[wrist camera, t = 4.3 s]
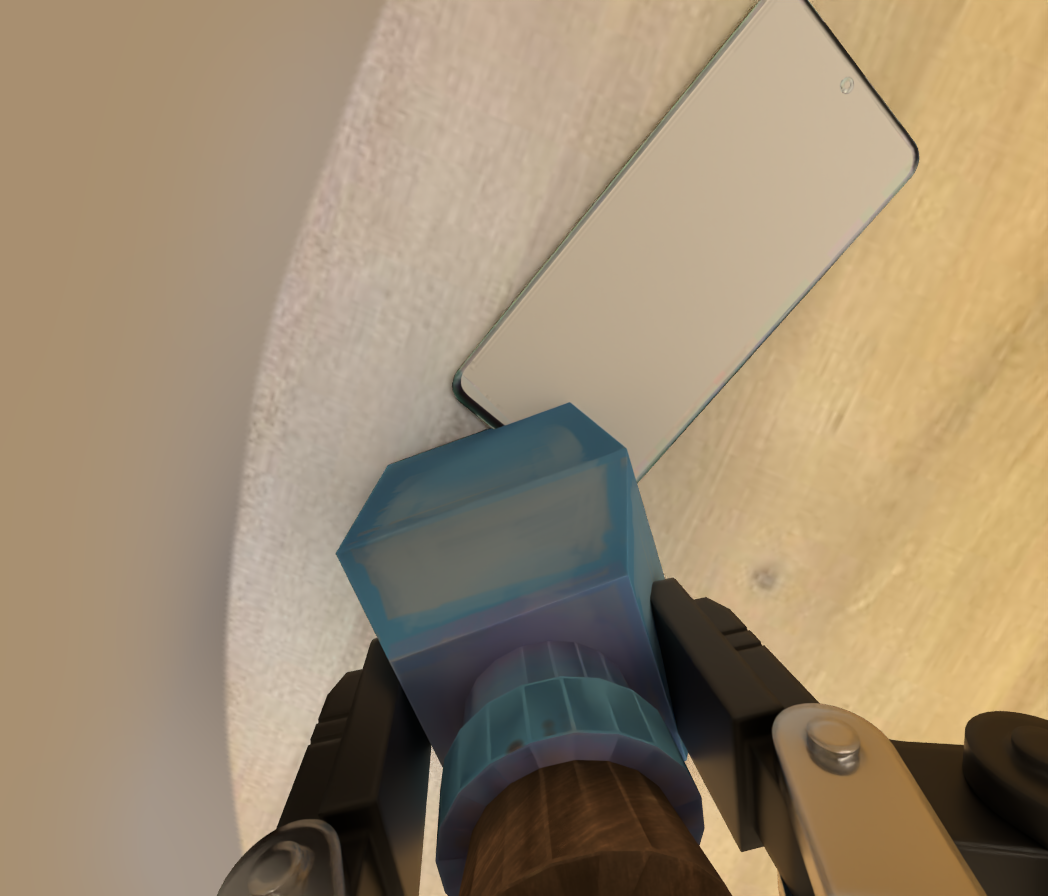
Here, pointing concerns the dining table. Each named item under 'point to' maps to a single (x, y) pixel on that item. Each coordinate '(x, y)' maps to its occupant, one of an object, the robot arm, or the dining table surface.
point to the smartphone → (700, 240)
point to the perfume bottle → (534, 661)
